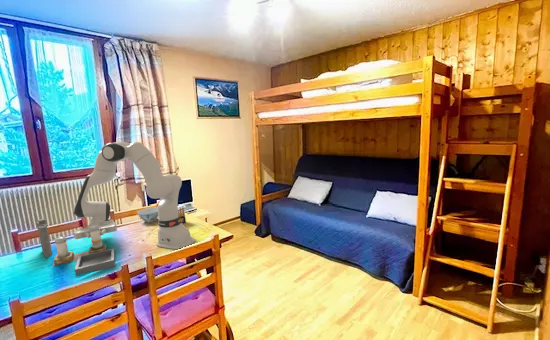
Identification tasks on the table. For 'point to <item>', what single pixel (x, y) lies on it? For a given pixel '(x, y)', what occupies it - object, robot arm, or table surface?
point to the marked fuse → (95, 236)
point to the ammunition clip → (182, 215)
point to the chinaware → (148, 214)
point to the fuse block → (76, 255)
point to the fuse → (62, 247)
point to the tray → (95, 261)
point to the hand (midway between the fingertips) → (95, 235)
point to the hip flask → (44, 237)
